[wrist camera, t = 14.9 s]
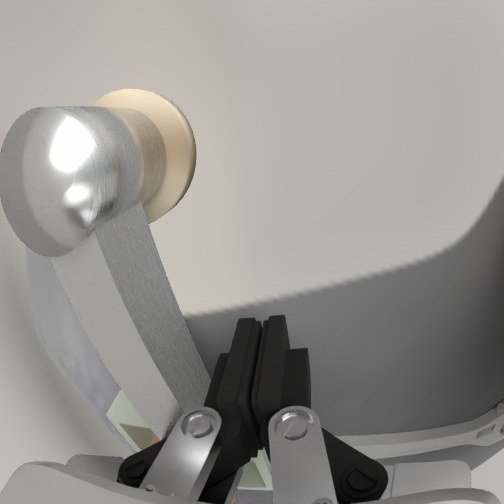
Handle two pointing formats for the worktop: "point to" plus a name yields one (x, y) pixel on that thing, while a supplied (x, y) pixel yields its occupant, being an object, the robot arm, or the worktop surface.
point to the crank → (105, 245)
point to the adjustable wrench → (432, 437)
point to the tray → (141, 436)
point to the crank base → (175, 141)
